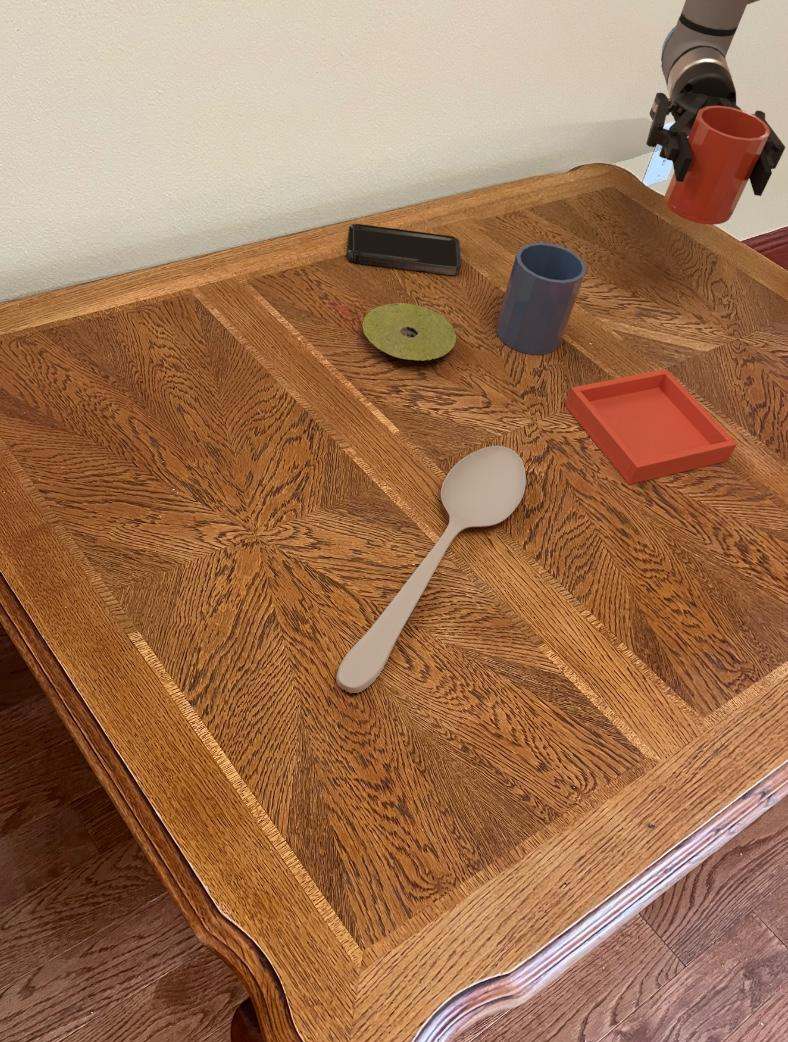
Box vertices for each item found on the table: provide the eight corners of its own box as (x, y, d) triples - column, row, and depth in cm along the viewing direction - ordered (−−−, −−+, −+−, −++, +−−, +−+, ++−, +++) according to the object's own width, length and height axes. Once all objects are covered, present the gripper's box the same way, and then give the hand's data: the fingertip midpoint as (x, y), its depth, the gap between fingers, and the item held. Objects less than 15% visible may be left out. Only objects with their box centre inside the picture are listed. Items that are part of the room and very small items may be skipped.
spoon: (471, 450, 102) (475, 432, 100) (538, 479, 100) (544, 461, 98) (303, 680, 82) (304, 663, 80) (382, 722, 80) (386, 706, 78)
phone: (349, 222, 126) (459, 236, 127) (348, 230, 127) (457, 244, 128) (347, 254, 121) (461, 269, 122) (346, 262, 122) (459, 276, 123)
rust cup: (744, 220, 113) (784, 137, 105) (690, 228, 110) (727, 142, 102) (704, 186, 117) (739, 103, 109) (650, 192, 114) (683, 108, 107)
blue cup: (572, 349, 116) (599, 277, 108) (516, 359, 113) (539, 286, 106) (539, 310, 120) (562, 239, 113) (484, 319, 118) (504, 246, 110)
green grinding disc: (358, 312, 116) (360, 298, 114) (447, 319, 117) (450, 305, 115) (363, 369, 109) (365, 355, 107) (458, 376, 110) (461, 362, 108)
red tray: (727, 461, 106) (737, 444, 104) (628, 485, 101) (637, 467, 99) (658, 386, 113) (666, 368, 111) (564, 405, 109) (570, 387, 107)
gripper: (768, 136, 123) (799, 224, 109) (610, 108, 123) (620, 192, 109) (796, 76, 117) (833, 160, 103) (630, 46, 117) (643, 126, 103)
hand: (723, 176), depth 106 cm, fingers closed on rust cup, 8 cm apart
